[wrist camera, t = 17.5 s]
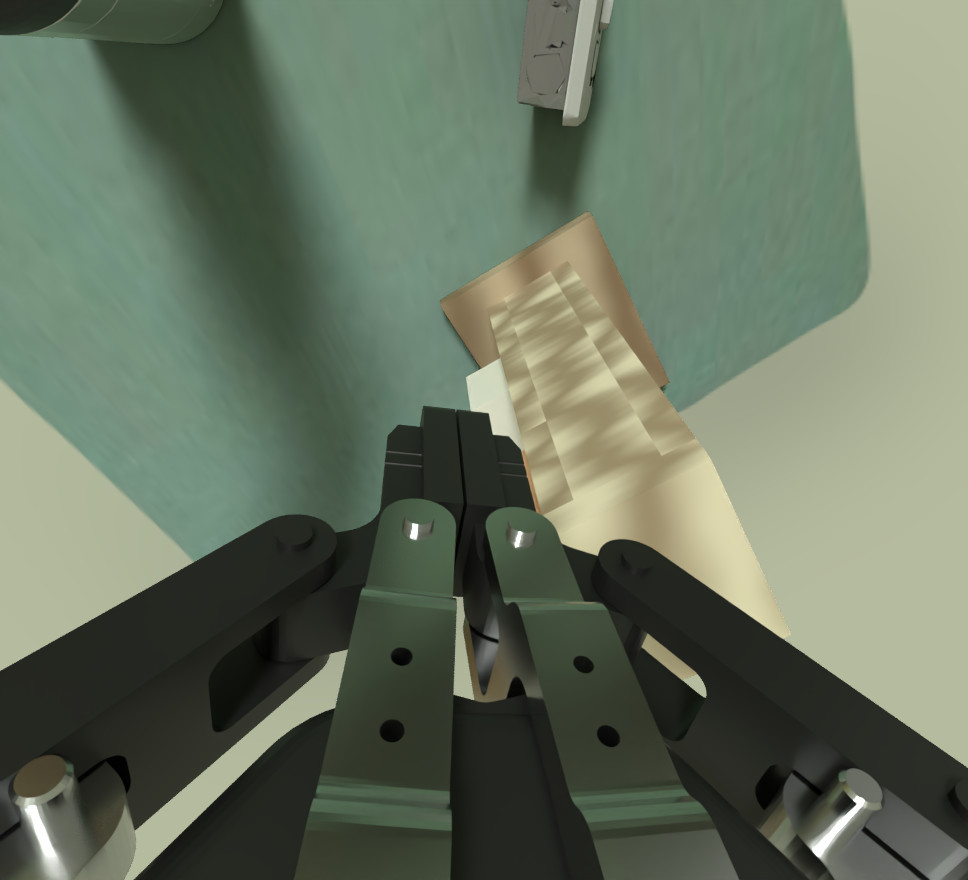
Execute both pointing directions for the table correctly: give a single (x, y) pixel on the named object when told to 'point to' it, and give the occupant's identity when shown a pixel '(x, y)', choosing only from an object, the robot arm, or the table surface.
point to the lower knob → (494, 400)
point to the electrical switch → (562, 55)
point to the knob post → (605, 418)
